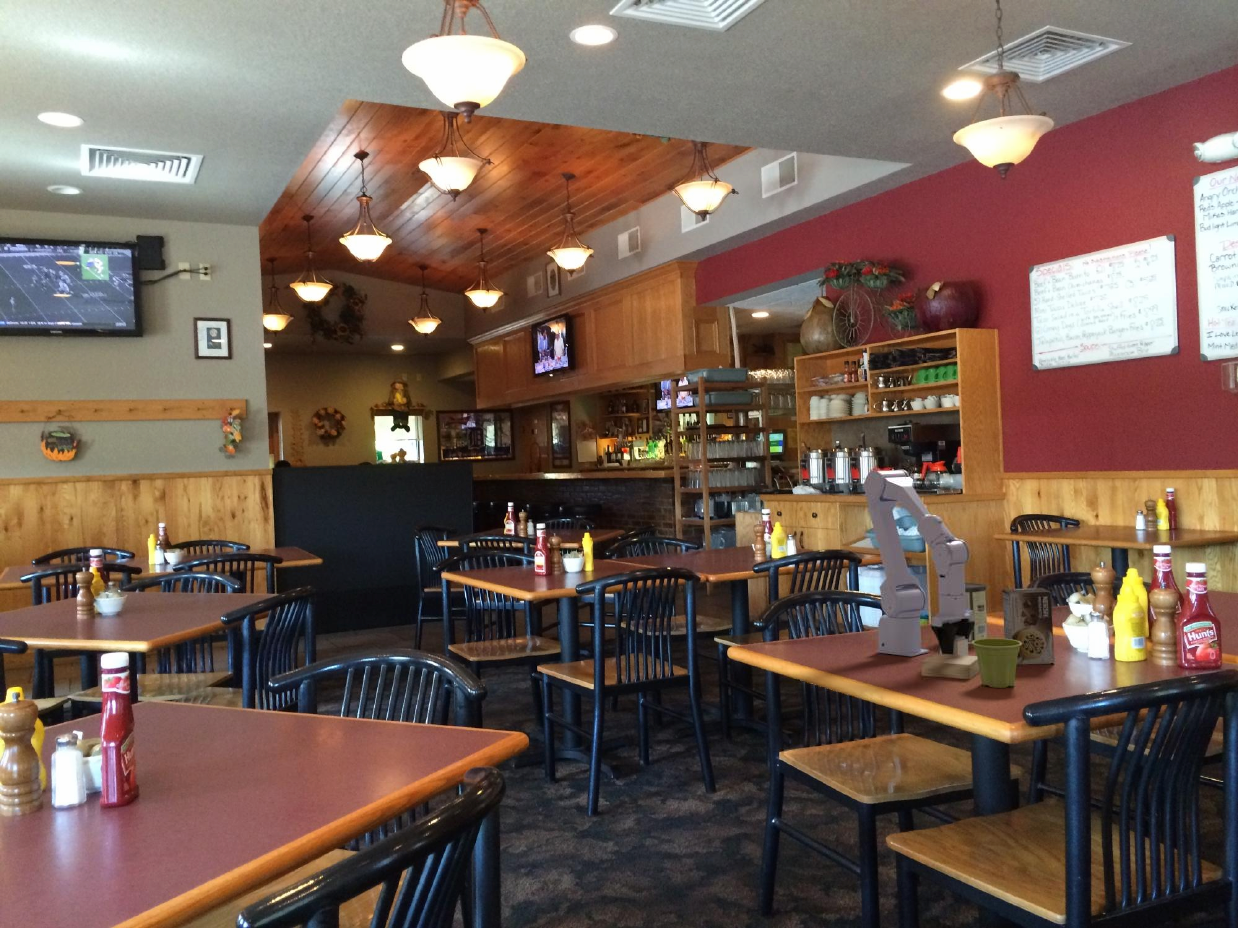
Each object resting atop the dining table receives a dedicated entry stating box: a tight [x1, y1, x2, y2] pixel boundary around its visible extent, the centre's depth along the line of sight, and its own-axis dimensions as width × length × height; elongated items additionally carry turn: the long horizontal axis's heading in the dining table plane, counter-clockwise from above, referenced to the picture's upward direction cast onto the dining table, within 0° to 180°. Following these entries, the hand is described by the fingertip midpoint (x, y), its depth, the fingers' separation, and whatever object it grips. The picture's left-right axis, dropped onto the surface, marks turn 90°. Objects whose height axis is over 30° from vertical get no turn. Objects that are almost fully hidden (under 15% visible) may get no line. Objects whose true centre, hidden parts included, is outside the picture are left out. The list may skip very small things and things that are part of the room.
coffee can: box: [965, 582, 989, 645], centre depth 251 cm, size 10×10×14 cm
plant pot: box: [971, 637, 1022, 689], centre depth 201 cm, size 9×9×9 cm
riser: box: [920, 652, 980, 680], centre depth 214 cm, size 10×10×3 cm
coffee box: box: [1001, 587, 1056, 666], centre depth 223 cm, size 9×6×16 cm
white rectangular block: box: [939, 635, 969, 656], centre depth 224 cm, size 4×4×6 cm
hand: (954, 654), depth 224 cm, fingers open, 5 cm apart
